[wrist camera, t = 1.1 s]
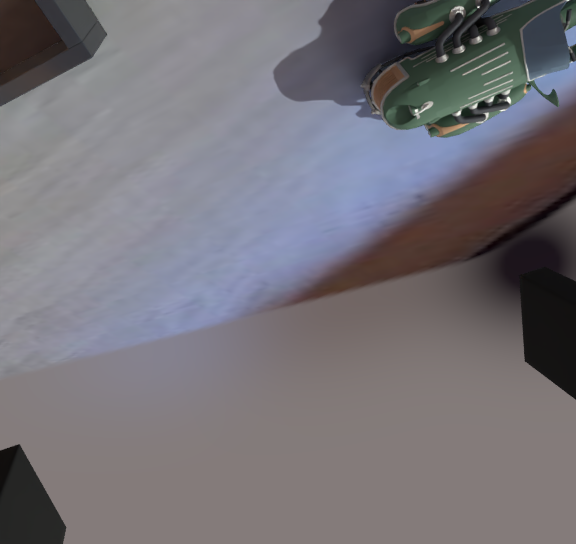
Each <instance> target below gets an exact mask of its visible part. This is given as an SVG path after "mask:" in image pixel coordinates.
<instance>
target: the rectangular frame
mask: <svg viewBox="0 0 576 544" xmlns="http://www.w3.org/2000/svg"><path fill="white" fill-rule="evenodd" d="M35 2H36V3H37V5H38V6H39V7H40V9H41V10H42V12H43V13H44V15H45V16H46V17H47V19H48V20H49V22H50V23H51V25H52V26H53V27H54V29H55V30H56V32H57V33H58V35H59V36H60V37H61V39H62V40H61V41H59V42H57V43H56V44H54V45H52V46H50V47H48V48H46V49H45V50H43V51H41V52H39V53H37V54H35V55H34V56H32V57H30V58H28V59H26V60H24V61H23V62H21V63H19V64H17V65H15V66H13V67H12V68H10V69H8V70H6V71H4V72H2V73H1V74H0V106H2V105H4V104H6V103H8V102H10V101H12V100H13V99H15V98H17V97H19V96H21V95H23V94H25V93H27V92H29V91H30V90H32V89H34V88H36V87H38V86H40V85H42V84H44V83H45V82H47V81H49V80H51V79H53V78H55V77H57V76H59V75H61V74H62V73H64V72H66V71H68V70H70V69H72V68H74V67H76V66H77V65H79V64H81V63H83V62H85V61H87V60H89V59H91V58H92V57H93V56H94V54H95V53H96V51H97V50H98V48H99V46H100V45H101V43H102V42H103V40H104V39H105V37H106V35H107V33H106V32H105V30H104V29H103V27H102V26H101V24H100V22H99V21H97V20H98V19H97V18H96V16H95V15H94V13H93V11H92V10H91V8H90V7H89V5H88V4H87V2H86V1H85V0H35Z"/></svg>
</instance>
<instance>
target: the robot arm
mask: <svg viewBox="0 0 576 544" xmlns="http://www.w3.org/2000/svg"><path fill="white" fill-rule="evenodd" d="M520 293H521V308H522V324H523V340H524V356H525V362H527V363H528V364H529V365H531V366H532V367H533V368H535V369H536V370H537V371H539V372H540V373H541V374H543V375H544V376H545V377H547V378H548V379H549V380H551V381H552V382H553V383H555V384H556V385H557V386H558V387H560V388H561V389H562V390H564V391H565V392H566V393H568V394H569V395H570V396H572V397H573V398H574V399H576V281H574V280H572V279H570V278H567V277H565V276H563V275H561V274H559V273H557V272H555V271H553V270H551V269H548V268H546V267H543V268H540V269H537V270H534V271H531V272H528V273H525V274H522V275H520ZM65 531H66V526H65V524H64V522H63V521H62V519H61V517H60V515H59V514H58V512H57V510H56V508H55V507H54V505H53V503H52V501H51V499H50V498H49V496H48V494H47V492H46V491H45V489H44V487H43V485H42V483H41V482H40V480H39V478H38V476H37V475H36V473H35V471H34V469H33V467H32V466H31V464H30V462H29V460H28V459H27V457H26V455H25V453H24V451H23V450H22V448H21V446H20V445H16V446H13V447H10V448H7V449H4V450H1V451H0V544H63V541H64V536H65Z"/></svg>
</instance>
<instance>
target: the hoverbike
mask: <svg viewBox="0 0 576 544" xmlns="http://www.w3.org/2000/svg"><path fill="white" fill-rule="evenodd" d="M498 1H500V0H430V1H426V0H422V1H418V2H417V3H416V2H415V4H414V5H410V6H408V7H406V8H404V9H402V10H401V11H399V12H398V13H397V15H396V17H395V20H394V32H395V34H396V36H397V38H398V39H399V41H400V43H401V44H404V43H406V44H408V43H409V44H412V45H420V44H423V43H426V42H429V41H432V40H434V39H436V38H438V39H437V41H436V45H435V46H431V47H426V48H422V49H417V50H414V51H411V52H408V53H405V54H403V55H401V56H398V57H396V58H394V59H392V60H390V61H388V62H386V63H384V64H382V65H381V64H380V63H379V64H378V65H377V66H375V67H374V68H373V69H371V70H370V72H369V73H368V74H367V75H366V76H365V79H364V80H363V84H361V87H363V91H364V94H365V96H366V99H367V102H368V104H369V106H370V107H371V109H372V112H371V114H377V115H378V114H379V115H381V117H382V119H383V120H384V122H385V123H386V124H387V125H388V126H389V127H391V128H394V129H396V130H408V129H412V128H417V127H419V126H422V125H424V126H425V128H426V130H427V131H428V134H429V135H430V137H434V136H437V137H451V136H455V135H459V134H461V133H464V132H466V131H468V130H470V129H472V128H474V127H476V126H478V125H480V124H482V123H483V122H485V121H487V120H488V119H490V118H492V117H494V116H495V115H497V114H499V113H500V112H502V111H505V110H506V109H508V108H509V107H510V106H512V105H513V104H515V103H516V102H518V101H519V100H521V99H522V98H523V97H524V96H525V94H526V93H527V91H529V90H530V89H531V85H532V86H533V87H534V88H535V89H536V90H537V91H538V92H539V93H540V94H541V95H542V96H543V97H545V98H546V99H547V100H549V101H550V102H551V103H553V104H554V105H556V106H557V107H559V101H558V97H557V94H556V92H555V90H554V89H553V90H552V92H551V94H549V95H545V94H543V93H542V92H541V91H540V90H539V89H538V87H537V86H536V84H535V82H534V79H536V78H539V77H542V76H544V75H546V74H549V73H552V72H556V71H560V70H564V69H567V68H568V67H569V63H571V62H574V61H576V44H575V45H573V46H570V47H569V46H568V45H567V40H566V36H565V31H566V30H568V29H570V28H571V27H573V26H575V25H576V0H530V1H528V2H527V3H525V4H523V5H521V6H518V7H515V8H512V9H509V10H506V11H504V12H501V13H498V14H495V15H493V16H491V17H487V18H483V19H482V18H481V16H482V15H483V14H484V13H485V12H486V11H487V10H488V9H489V7H491V6H492V5H494V4H495V3H497V2H498ZM453 32H454V34H453V37H452V38H450V39H448V40H446V39H447V38H448V37H449V36H450V35H451V34H452V33H453ZM445 40H446V41H445ZM426 50H427V51H426ZM421 51H426V52H424V53H422V54H420V55H418V56H416V57H414V58H411V57H409V56H408V55H411V54H414V53H417V52H421ZM405 56H407V57H405ZM404 57H405V58H404ZM401 58H402V60H401V61H399V62H395V61H397V60H399V59H401ZM393 62H395V63H393ZM391 63H393V64H392V65H390V66H389V67H388V68H387V69H385V70H384V71H383V72H382V71H381V68H383V67H385V66H387V65H389V64H391ZM378 71H379V72H380V75H379V76H378V77H377V78H376V79H375V80H374V81H373V83H372V82H371V79H372V78H373V77H374V75H375V74H376V73H377V72H378ZM527 83H529V84H528V85H527ZM530 84H531V85H530ZM370 89H371V98H372V100H371V98H370V95H369V90H370Z"/></svg>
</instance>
